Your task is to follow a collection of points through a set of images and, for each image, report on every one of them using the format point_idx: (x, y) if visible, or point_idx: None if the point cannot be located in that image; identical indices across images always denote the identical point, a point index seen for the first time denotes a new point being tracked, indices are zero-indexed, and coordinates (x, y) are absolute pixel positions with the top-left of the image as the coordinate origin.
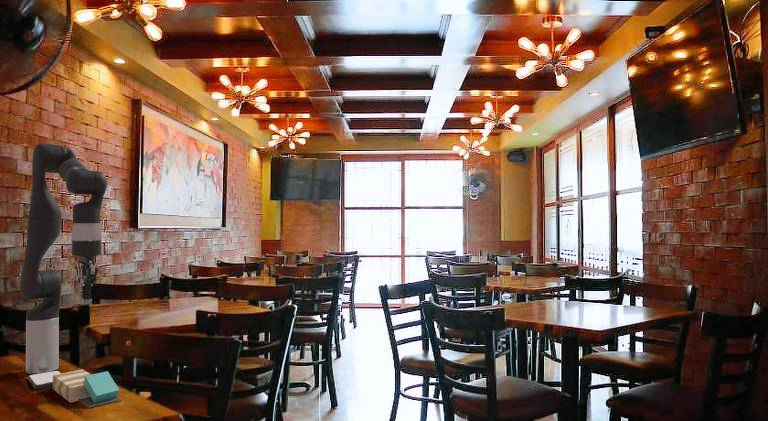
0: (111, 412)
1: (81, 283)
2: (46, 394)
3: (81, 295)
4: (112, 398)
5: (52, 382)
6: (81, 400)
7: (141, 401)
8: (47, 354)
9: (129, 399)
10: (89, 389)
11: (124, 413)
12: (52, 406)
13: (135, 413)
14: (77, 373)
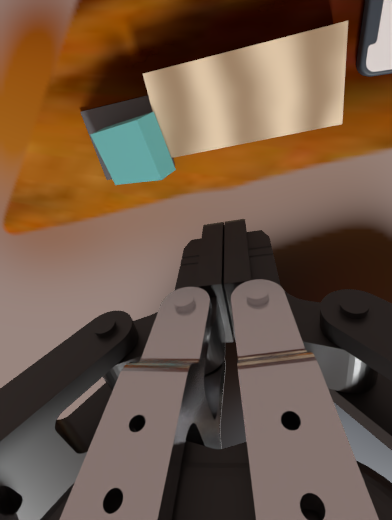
0: (38, 152)
1: (236, 304)
2: (279, 3)
3: (243, 229)
4: None
5: (369, 23)
6: (141, 100)
7: (89, 210)
8: None
9: (112, 194)
10: (121, 123)
11: (24, 172)
12: (141, 22)
13: (18, 189)
14: (301, 104)
